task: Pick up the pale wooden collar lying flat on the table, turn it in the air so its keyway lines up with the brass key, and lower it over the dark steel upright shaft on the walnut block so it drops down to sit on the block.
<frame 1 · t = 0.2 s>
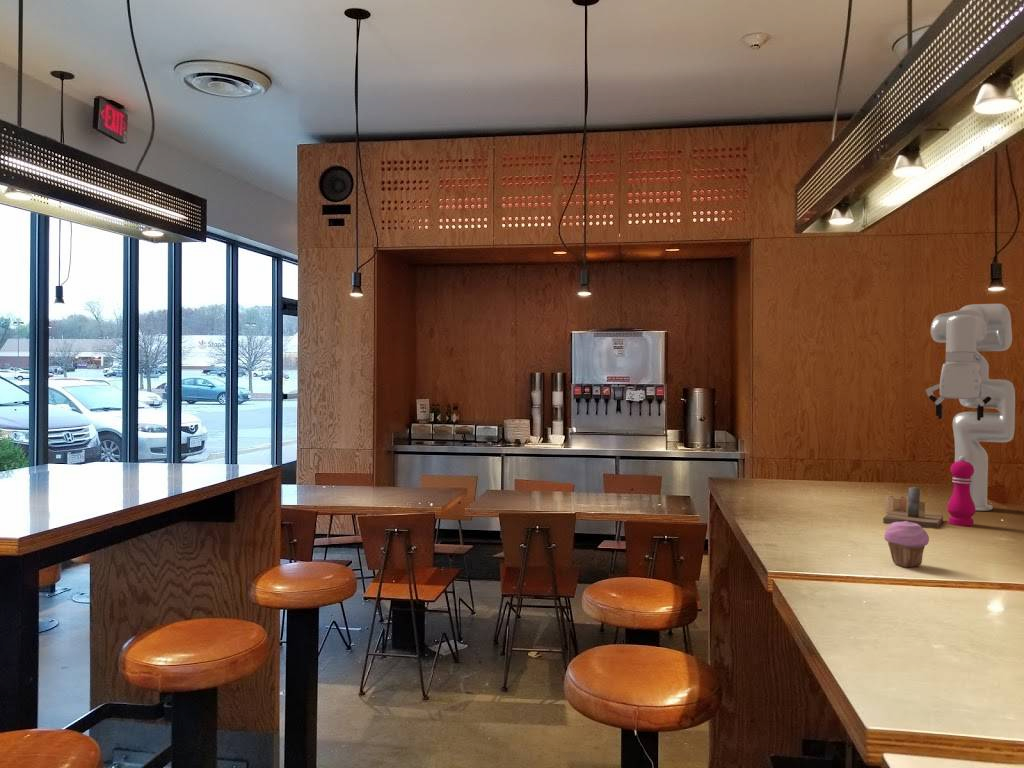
hand: (959, 419, 230), 31 cm above the counter, fingers open, 9 cm apart
pepper mill: (960, 525, 237), on the counter
keyed shaft block: (913, 521, 240), on the counter
pale wooden collar: (898, 513, 255), on the counter
cupcake: (905, 566, 183), on the counter
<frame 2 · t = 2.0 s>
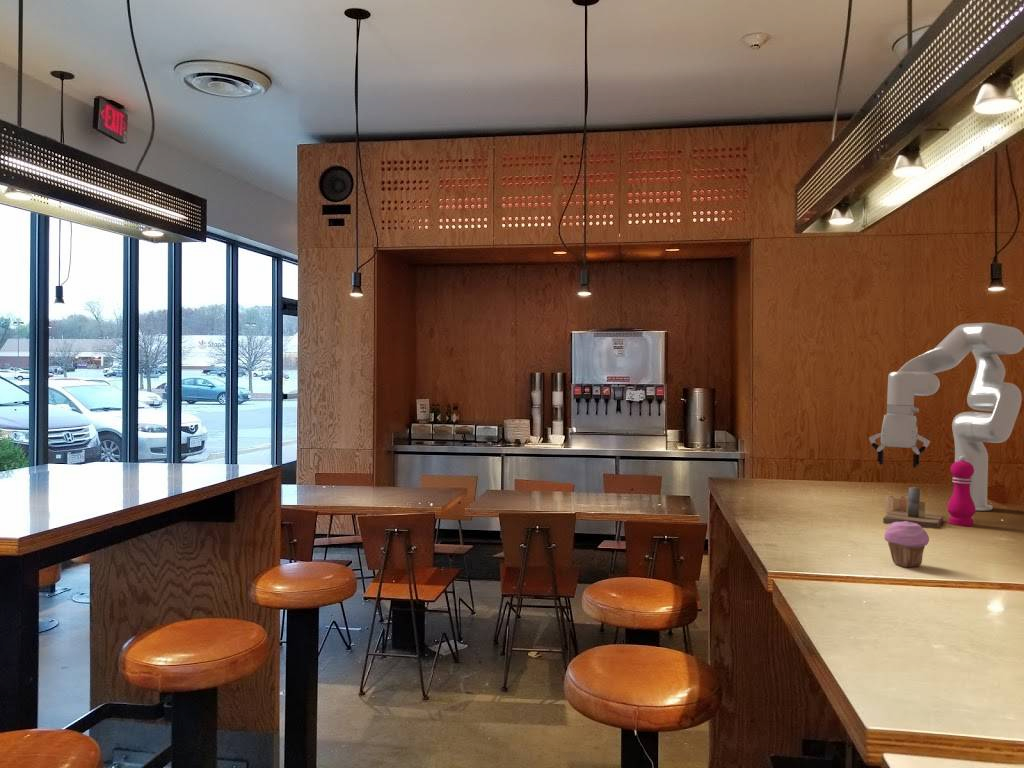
hand: (897, 465, 254), 15 cm above the counter, fingers open, 9 cm apart
nothing on the counter moved.
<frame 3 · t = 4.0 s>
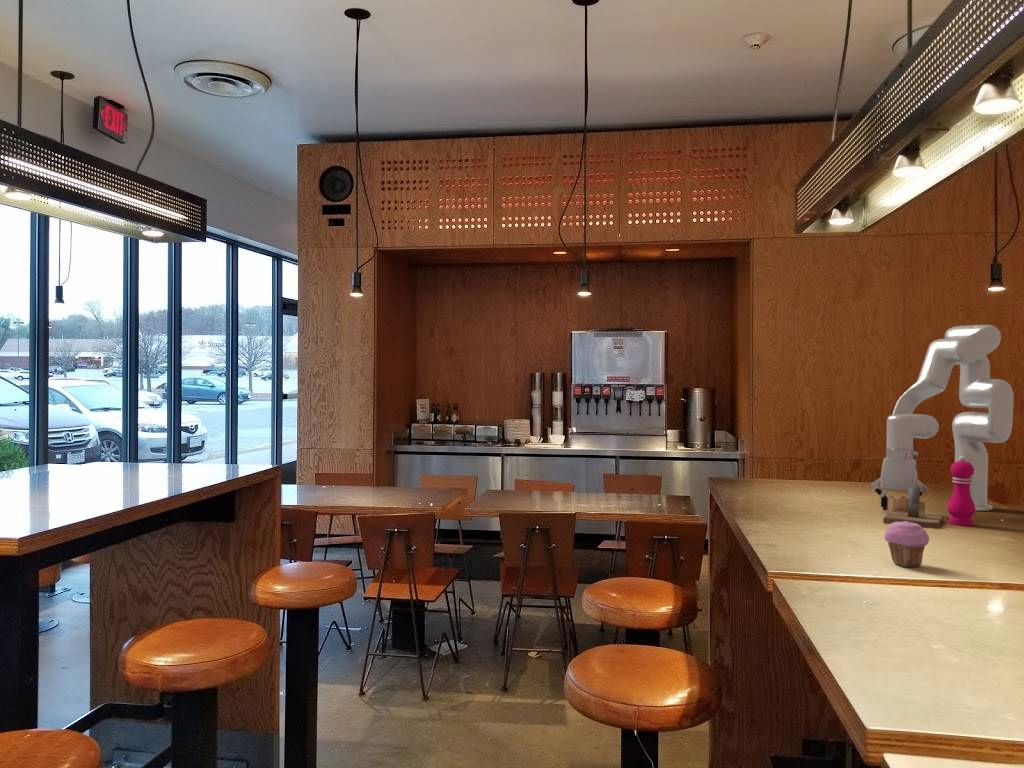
hand: (898, 510, 255), 1 cm above the counter, fingers closed on pale wooden collar, 7 cm apart
pale wooden collar: (898, 513, 255), on the counter, touching gripper
everything else where it was.
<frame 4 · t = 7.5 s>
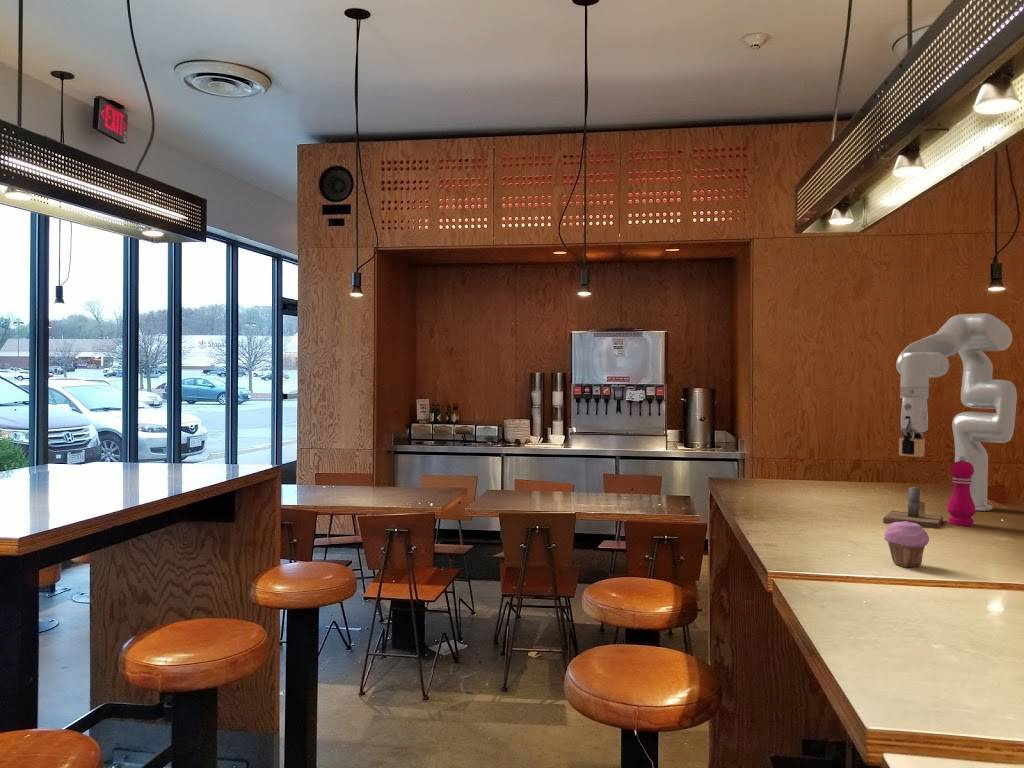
hand: (912, 453, 241), 20 cm above the counter, fingers closed on pale wooden collar, 7 cm apart
pale wooden collar: (912, 455, 241), point 19 cm above the counter, touching gripper
everything else where it was.
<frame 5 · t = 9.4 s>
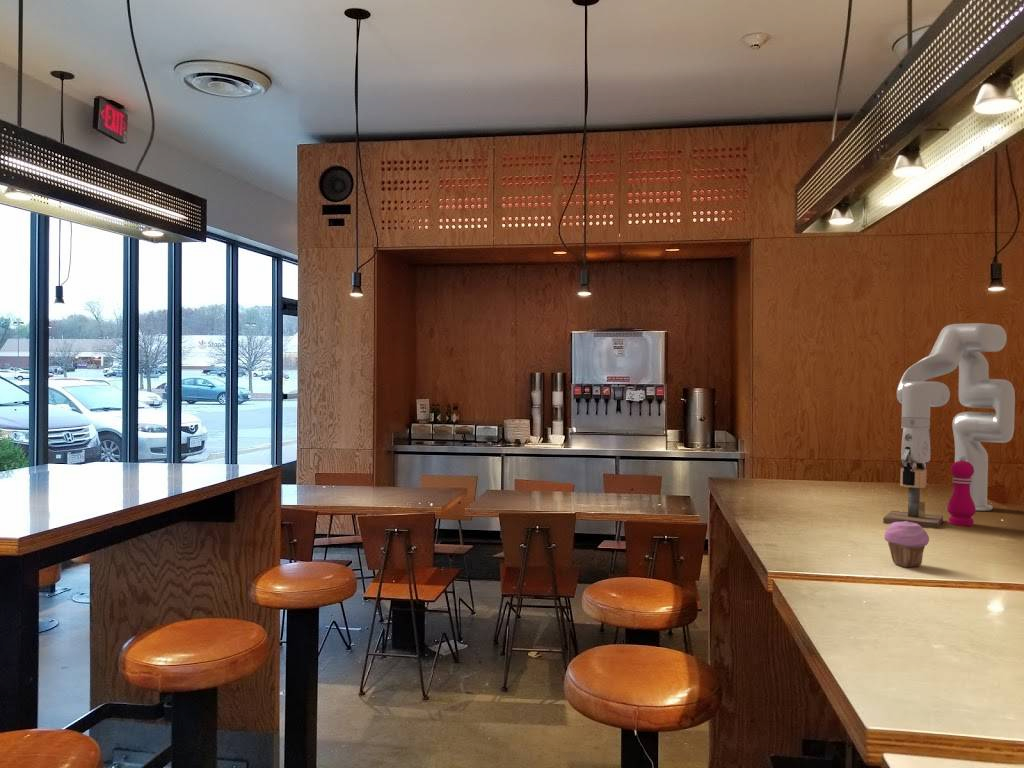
hand: (914, 483, 240), 11 cm above the counter, fingers closed on pale wooden collar, 7 cm apart
pale wooden collar: (913, 486, 240), point 10 cm above the counter, touching gripper
everything else where it was.
when the fingers open (7 cm above the counter, at t = 11.1 s): pale wooden collar drops 5 cm, resting on keyed shaft block.
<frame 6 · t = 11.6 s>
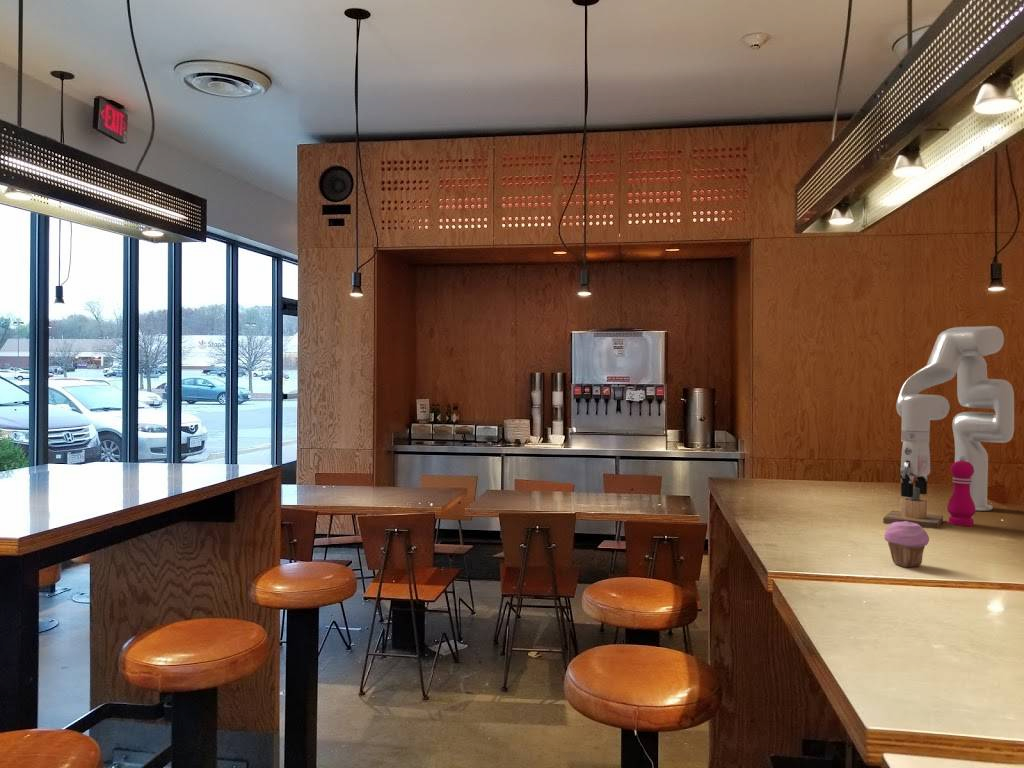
hand: (914, 495, 240), 8 cm above the counter, fingers open, 9 cm apart
pale wooden collar: (913, 516, 240), point 1 cm above the counter, touching keyed shaft block
everything else where it was.
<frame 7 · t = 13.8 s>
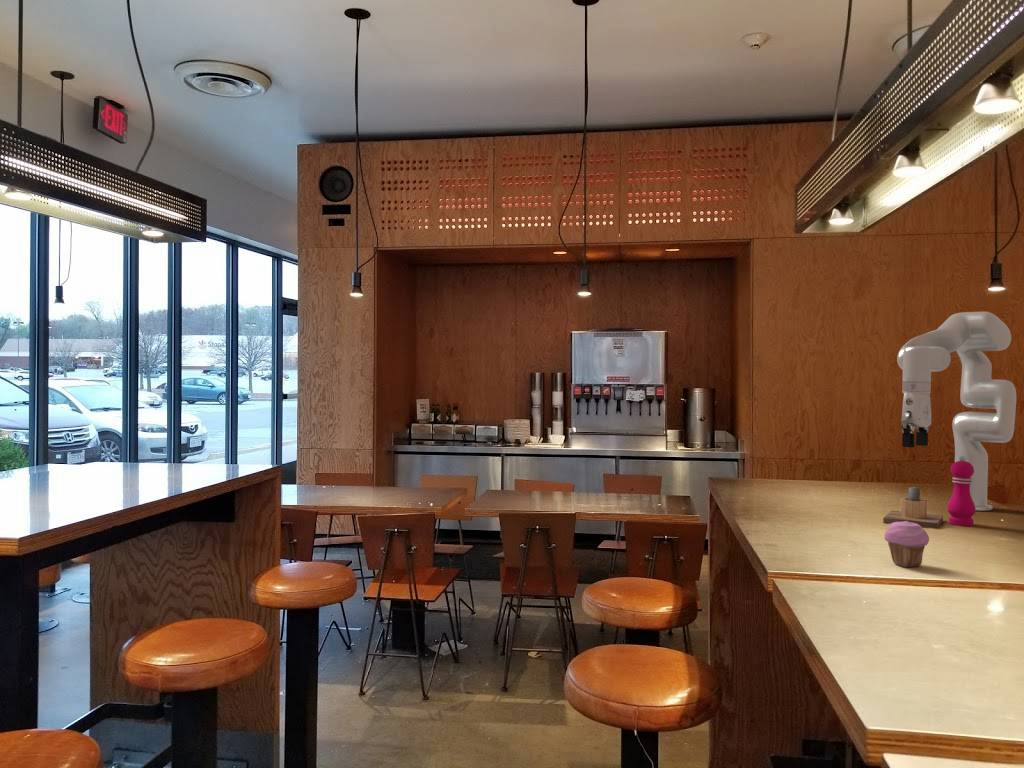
hand: (915, 446, 240), 22 cm above the counter, fingers open, 9 cm apart
nothing on the counter moved.
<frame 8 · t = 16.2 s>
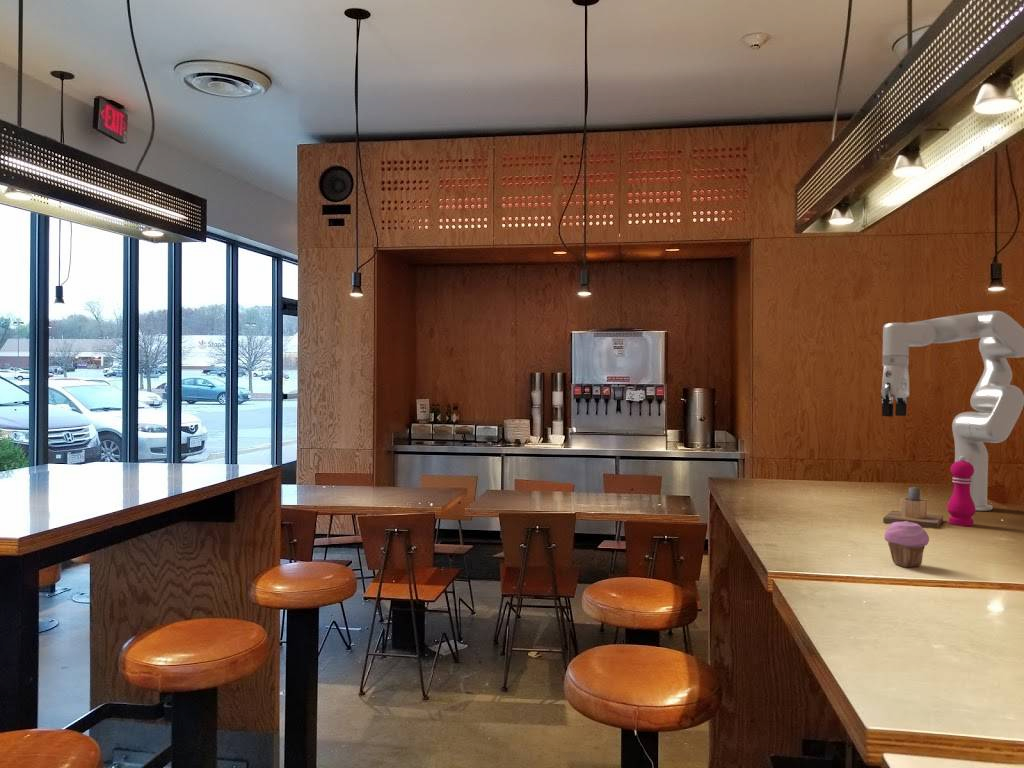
hand: (894, 416, 257), 30 cm above the counter, fingers open, 9 cm apart
nothing on the counter moved.
at the end: pale wooden collar 0.2 cm from the keyed shaft block (horizontally); pale wooden collar point 1.5 cm above the counter; pale wooden collar tilted 0° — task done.
